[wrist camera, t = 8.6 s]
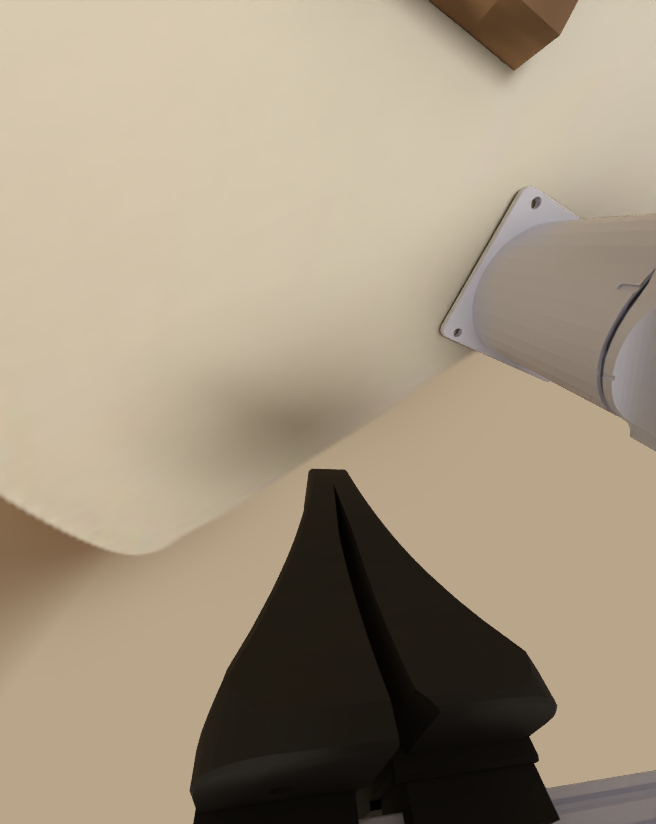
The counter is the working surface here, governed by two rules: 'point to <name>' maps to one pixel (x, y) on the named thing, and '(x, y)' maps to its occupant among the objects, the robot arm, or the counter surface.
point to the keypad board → (510, 24)
